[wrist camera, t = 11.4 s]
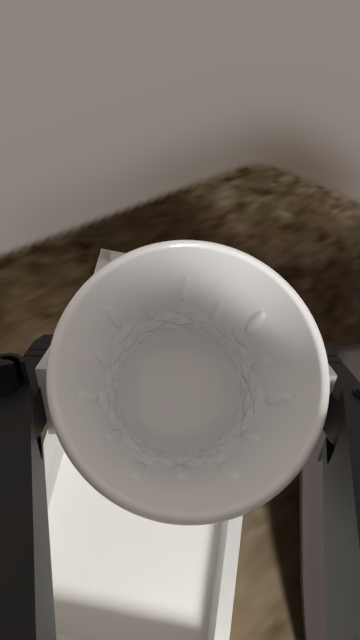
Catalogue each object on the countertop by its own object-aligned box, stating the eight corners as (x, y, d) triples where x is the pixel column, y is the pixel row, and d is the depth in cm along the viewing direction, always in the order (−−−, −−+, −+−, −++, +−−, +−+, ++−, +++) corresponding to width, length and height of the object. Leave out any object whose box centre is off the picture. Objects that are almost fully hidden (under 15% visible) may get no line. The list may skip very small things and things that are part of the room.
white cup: (169, 302, 20) (172, 195, 10) (271, 382, 19) (381, 345, 9) (80, 401, 18) (-19, 382, 8) (188, 499, 17) (216, 608, 7)
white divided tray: (6, 626, 19) (-23, 664, 16) (108, 266, 26) (101, 248, 23) (212, 669, 19) (220, 714, 16) (257, 295, 26) (268, 280, 23)
